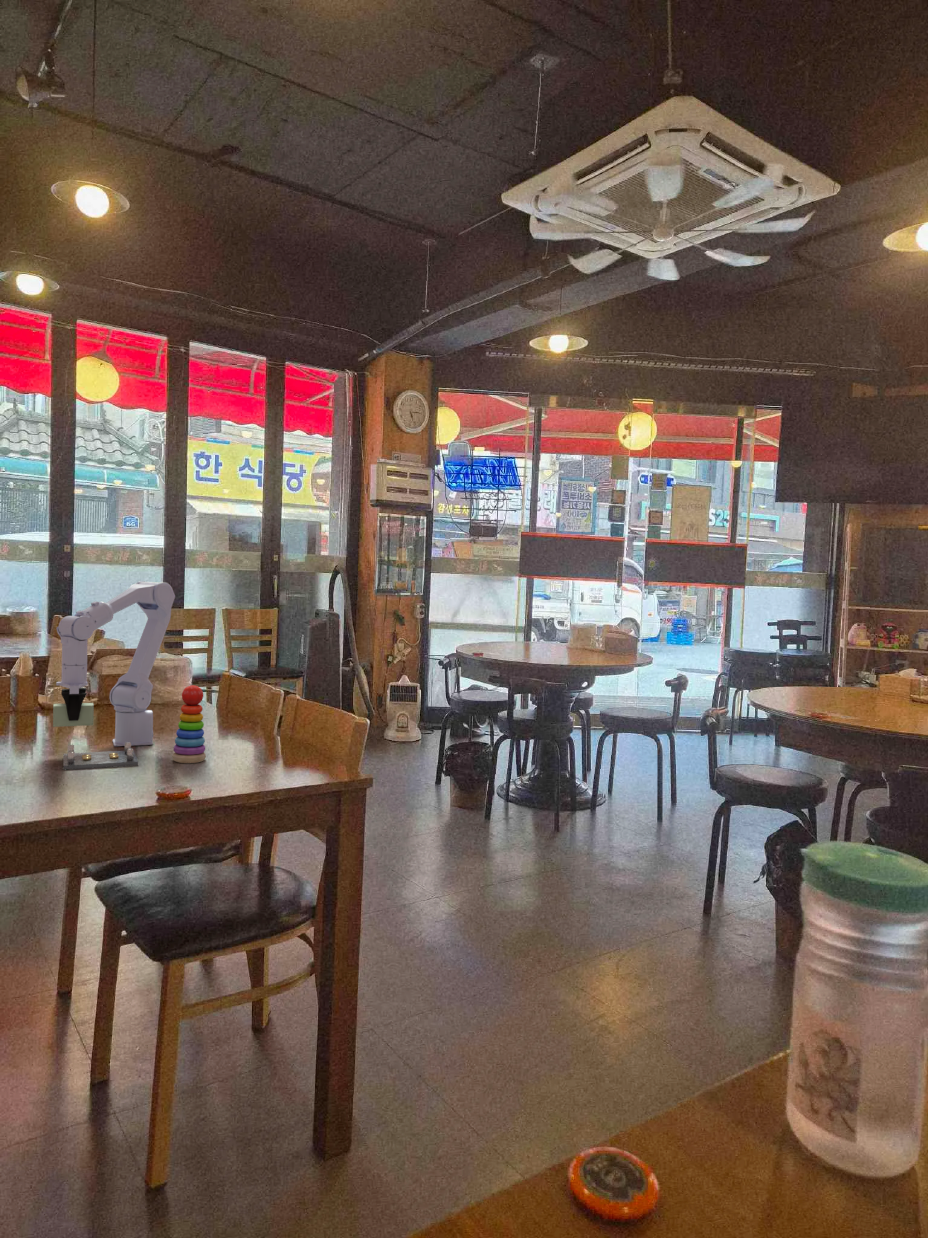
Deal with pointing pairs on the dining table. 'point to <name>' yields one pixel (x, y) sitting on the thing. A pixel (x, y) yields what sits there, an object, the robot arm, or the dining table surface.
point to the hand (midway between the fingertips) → (73, 718)
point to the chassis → (99, 758)
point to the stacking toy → (190, 728)
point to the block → (62, 720)
